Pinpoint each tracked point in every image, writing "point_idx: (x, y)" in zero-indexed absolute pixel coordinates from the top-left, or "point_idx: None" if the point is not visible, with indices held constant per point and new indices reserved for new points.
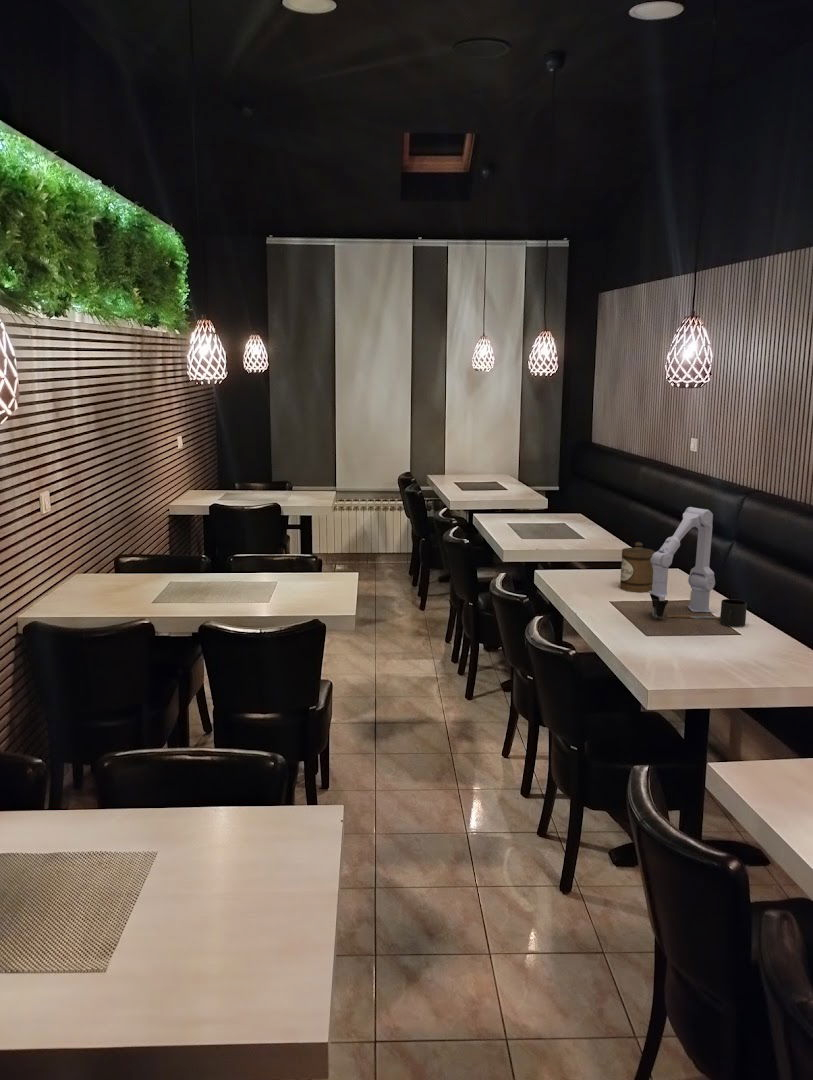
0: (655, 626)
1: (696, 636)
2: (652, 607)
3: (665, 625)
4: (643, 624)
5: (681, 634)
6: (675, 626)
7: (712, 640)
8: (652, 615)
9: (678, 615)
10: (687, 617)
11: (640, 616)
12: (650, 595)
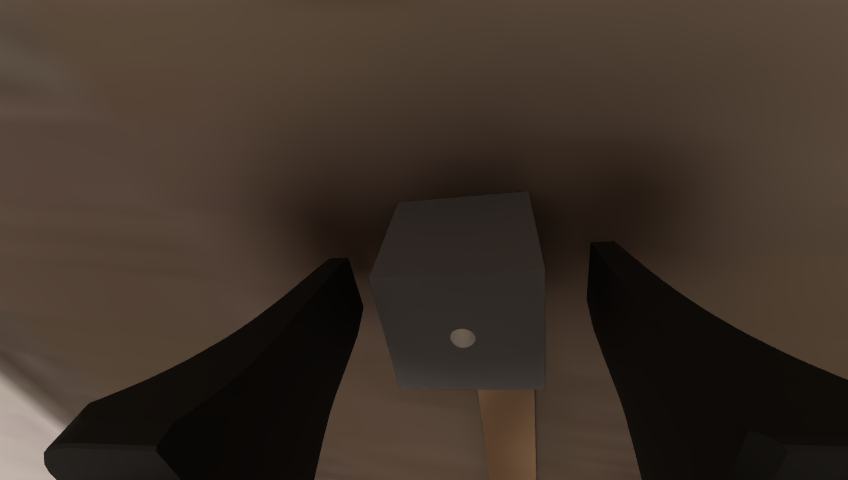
0: (65, 201)
1: (42, 420)
2: (530, 261)
3: (170, 289)
4: (38, 64)
5: (6, 359)
6: (193, 353)
7: (35, 463)
8: (478, 202)
9: (523, 424)
10: (488, 460)
11: (446, 18)
12: (751, 432)
